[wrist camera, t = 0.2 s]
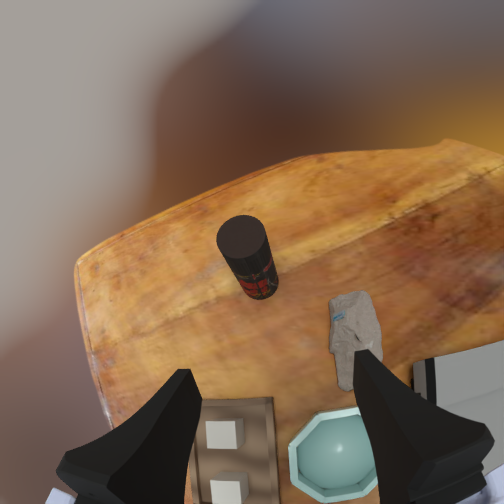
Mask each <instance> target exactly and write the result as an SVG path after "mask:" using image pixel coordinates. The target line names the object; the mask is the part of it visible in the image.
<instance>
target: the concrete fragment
mask: <svg viewBox="0 0 504 504" xmlns="http://www.w3.org/2000/svg"><path fill="white" fill-rule="evenodd" d="M329 309H330V318H331V329H330V336H329V343H330V345H329V349H330V353H334V356H335V362H336V368H337V376H338V381H339V382H338V386H339V387H340V389H343V390H344V391H350V390H352V389H353V370H354V351H360V350H365V349H369V350H370V351H371V352H372V353H373V354H374V355H375V356H376V357H377V358H378V360H379V361H380V362H382V359H383V351H382V349H381V340H382V338H381V329H380V325H379V323H378V320H377V317H376V314H375V309H374V307H373V306H372V300H371V298H370V296H369V294H368V293H367V292H365V291H363V290H361V291H356V292H355V291H354V292H350V293H348V294H345V295H342V294H341V295H339V296H337V297H335V298H333V299H331V300H330V301H329Z"/></svg>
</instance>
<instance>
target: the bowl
mask: <svg viewBox="0 0 504 504" xmlns="http://www.w3.org/2000/svg"><path fill="white" fill-rule="evenodd" d="M297 446H298V448H297ZM288 451H289V465H290V480H291V482H292V484H293V485H295V486H296V487H297V488H299V489H300V490H302V491H304V492H305V493H307V494H308V495H310V496H311V497H313V498H314V499H316V500H318V501H319V502H321V503H323V502H324V503H331V502H338V501H344V500H349V499H355V498H360V497H364V495H367V494H368V493H369V492H370V491H371V490H372V489H373V488H374V487H375V486H376V485H377V484H378V480H377V474H376V468H375V462H374V457H373V452H372V447H371V444H370V440H369V437H368V434H367V432H366V429H365V426H364V423H363V420H362V417H361V414H360V411H359V408H358V406H355V405H354V406H348V407H343V408H337V409H331V410H324V411H317V413H316V412H315V414H314V415H313V416H312V417H311V418H310V419H309V420H308V422H307V423H306V424H305V425H304V426H303V427H302V428H301V429H300V430H299V431H298V432H297V434H296V435H295V436H294V437H293V438H292V439H291V440H290V443H289V446H288ZM299 470H300V472H301V473H300V472H299Z"/></svg>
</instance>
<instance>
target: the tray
mask: <svg viewBox="0 0 504 504" xmlns="http://www.w3.org/2000/svg"><path fill="white" fill-rule="evenodd" d="M217 418H243V421H244V435H245V443H244V444H243V445H241V446H240V447H239V448H237V449H213V448H207V435H206V421H208V420H213V419H217ZM189 468H190V478H191V488H192V497H193V504H213V503H212V494H211V484H210V480H211V479H212V478H214V477H215V476H216V475H217V474H219V473H220V472H247V475H248V487H249V495H248V496H247V498H246V499H245V501H244V502H243V504H281V502H280V487H279V473H278V459H277V445H276V431H275V418H274V405H273V397H266V398H251V399H227V400H202V406H201V414H200V420H199V424H198V427H197V431H196V435H195V438H194V442H193V446H192V449H191V453H190V457H189Z"/></svg>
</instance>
